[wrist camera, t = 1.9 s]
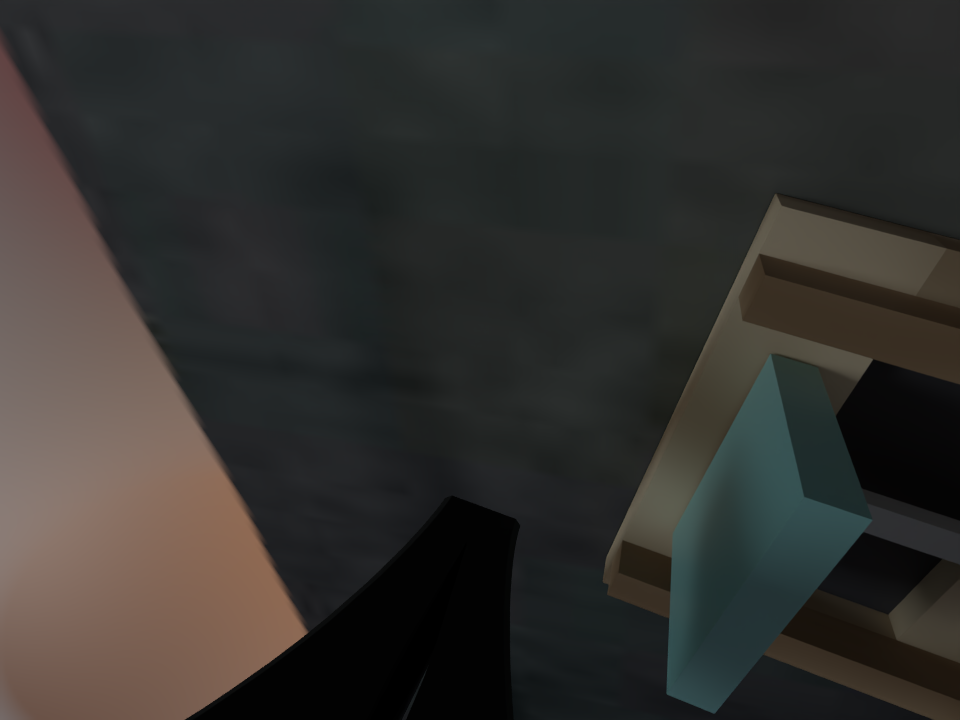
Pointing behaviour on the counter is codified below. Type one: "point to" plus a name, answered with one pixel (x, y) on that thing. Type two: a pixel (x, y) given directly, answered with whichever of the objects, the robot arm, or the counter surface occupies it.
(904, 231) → the tunnel board
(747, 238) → the counter surface
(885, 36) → the counter surface
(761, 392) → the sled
